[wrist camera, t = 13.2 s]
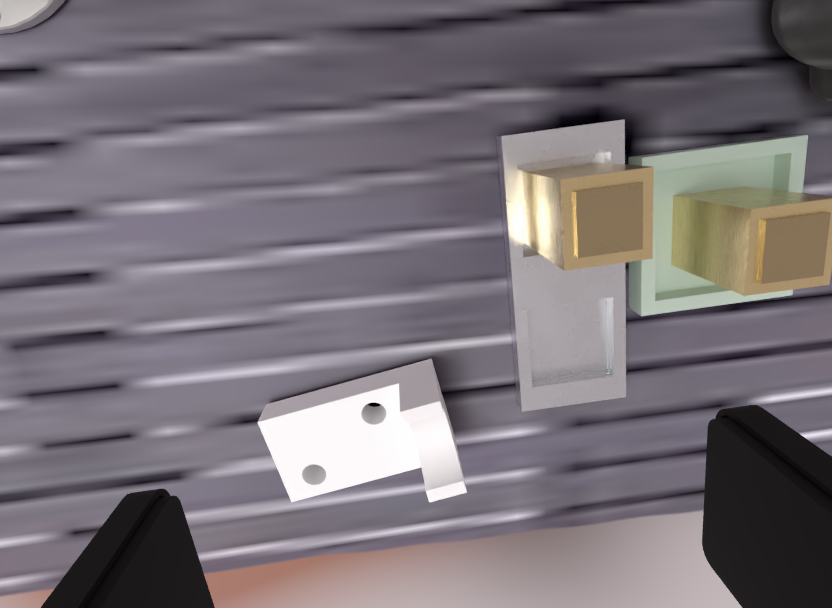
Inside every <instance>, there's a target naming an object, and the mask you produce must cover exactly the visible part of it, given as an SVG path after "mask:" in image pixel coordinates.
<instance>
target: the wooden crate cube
mask: <svg viewBox="0 0 832 608" xmlns="http://www.w3.org/2000/svg"><path fill="white" fill-rule="evenodd" d="M671 265H672V266H675V267H677V268H679V269H682V270H684V271H686V272H689V273H691V274H693V275H696V276H698V277H701V278H703V279H705V280H708V281H710V282H712V283H715V284H717V285H720V286H722V287H724V288H727V289H729V290H731V291H734V292H736V293H738V294H741V295H743V296H748V295H756V294H763V293H771V292H778V291H786V290H793V289H801V288H808V287H816V286H823V285H830V277H831V269H832V196H825V195H816V194H807V193H798V192H789V191H781V190H772V189H763V188H754V187H746V186H742V187H735V188H727V189H719V190H712V191H704V192H697V193H689V194H681V195H674V196H673V219H672V253H671Z"/></svg>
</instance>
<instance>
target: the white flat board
mask: <svg viewBox="0 0 832 608" xmlns="http://www.w3.org/2000/svg"><path fill="white" fill-rule="evenodd" d="M496 142H497V155H498V168H499V181H500V194H501V207H502V219H503V232H504V245H505V258H506V271H507V284H508V296H509V309H510V322H511V335H512V348H513V361H514V374H515V386H516V399H517V403H518V405H519V407H520V409H521V411H522V412H523V411H530V410H538V409H545V408H552V407H559V406H566V405H573V404H580V403H587V402H594V401H601V400H608V399H615V398H622V397H626V281H625V263H618V264H610V265H603V266H596V267H589V268H582V269H574V270H567V271H564V270H562V269H561V268H559V267H558V266H557V265H555V264H554V263H552V262H551V261H550V260H548V259H547V258H545V257H544V256H543V255H541V254H540V253H538V252H537V251H536V250H534V249H533V248H531V247H530V246H529V245H527V235H526V220H525V204H524V189H523V173H522V172H527V171H534V170H541V169H549V168H556V167H563V166H571V165H578V164H585V163H593V162H600V163H613V164H625V119H624V120H615V121H608V122H600V123H593V124H586V125H578V126H571V127H564V128H556V129H549V130H542V131H534V132H527V133H520V134H512V135H505V136H497V137H496Z"/></svg>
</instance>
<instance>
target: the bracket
mask: <svg viewBox="0 0 832 608" xmlns="http://www.w3.org/2000/svg"><path fill="white" fill-rule="evenodd" d="M369 403H379V404H381V406H378V407H372V406H369V405H367V404H369ZM258 424H259V427H260V429H261V431H262V434H263V436H264V438H265V441H266V443H267V445H268V448H269V450H270V452H271V455H272V457H273V460H274V462H275V464H276V467H277V469H278V471H279V474H280V476H281V478H282V481H283V483H284V485H285V488H286V490H287V492H288V495H289V497H290V499H291V502H294V501H298V500H302V499H305V498H309V497H313V496H317V495H320V494H324V493H328V492H331V491H335V490H339V489H343V488H346V487H350V486H354V485H357V484H361V483H365V482H369V481H372V480H376V479H380V478H383V477H387V476H391V475H394V474H398V473H402V472H406V471H409V470H413V469H417V468H420V467H422V472H423V477H424V482H425V489H426V493H427V496H428V500H429V502H433V501H437V500H440V499H444V498H448V497H452V496H455V495H459V494H463V493H467V490H466V486H465V481H464V477H463V472H462V468H461V463H460V459H459V455H458V450H457V446H456V441H455V437H454V433H453V429H452V426H451V422H450V419H449V415H448V412H447V409H446V405H445V402H444V398H443V395H442V393H441V389H440V386H439V382H438V379H437V375H436V372H435V369H434V365H433V362H432V359H428V360H425V361H421V362H417V363H414V364H410V365H406V366H403V367H399V368H396V369H392V370H388V371H385V372H381V373H378V374H374V375H370V376H367V377H363V378H360V379H356V380H352V381H349V382H345V383H341V384H338V385H334V386H331V387H327V388H323V389H320V390H316V391H313V392H309V393H305V394H302V395H298V396H294V397H291V398H287V399H284V400H280V401H276V402H273V403H269V404H266V405H265V408H264V410H263V412H262V414H261V416H260V418H259V420H258Z"/></svg>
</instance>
